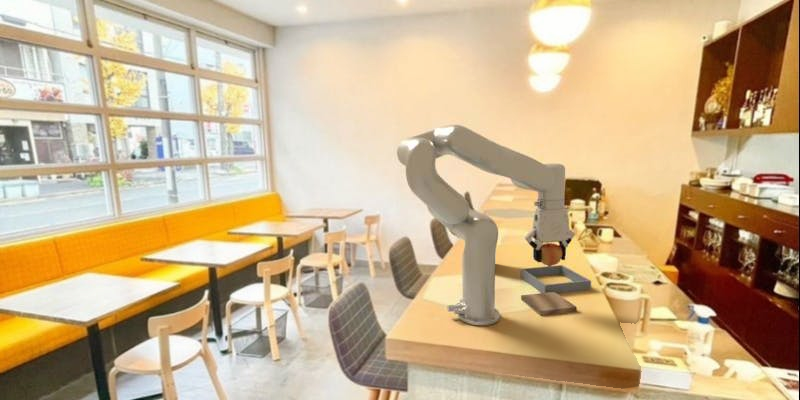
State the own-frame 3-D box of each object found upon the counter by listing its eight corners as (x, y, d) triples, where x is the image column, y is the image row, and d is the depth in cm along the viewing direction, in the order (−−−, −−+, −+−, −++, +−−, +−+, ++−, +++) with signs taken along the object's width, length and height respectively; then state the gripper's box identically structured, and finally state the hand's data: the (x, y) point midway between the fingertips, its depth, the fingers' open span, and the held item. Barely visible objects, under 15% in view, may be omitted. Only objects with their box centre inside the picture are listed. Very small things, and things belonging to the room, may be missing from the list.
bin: (544, 295, 129) (545, 285, 128) (520, 277, 146) (520, 268, 145) (590, 290, 132) (591, 280, 131) (561, 273, 149) (561, 264, 148)
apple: (549, 270, 114) (550, 245, 113) (531, 264, 121) (532, 239, 120) (567, 266, 117) (568, 241, 116) (549, 260, 124) (549, 236, 123)
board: (540, 315, 114) (540, 311, 114) (521, 299, 126) (521, 295, 126) (576, 311, 116) (576, 306, 116) (554, 296, 128) (554, 291, 128)
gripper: (530, 208, 111) (529, 266, 114) (584, 204, 114) (582, 261, 117) (518, 204, 118) (517, 258, 121) (569, 200, 121) (567, 254, 124)
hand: (549, 259), depth 119 cm, fingers closed on apple, 7 cm apart
